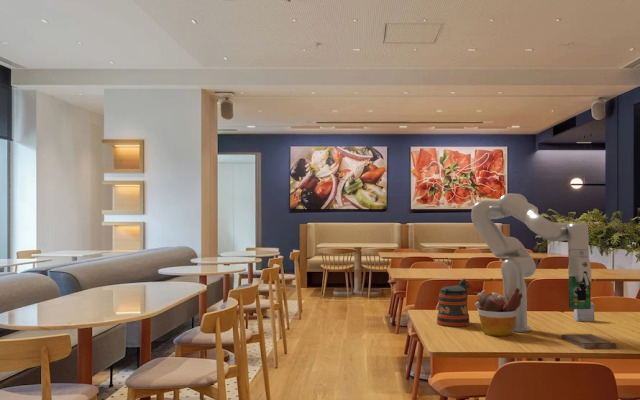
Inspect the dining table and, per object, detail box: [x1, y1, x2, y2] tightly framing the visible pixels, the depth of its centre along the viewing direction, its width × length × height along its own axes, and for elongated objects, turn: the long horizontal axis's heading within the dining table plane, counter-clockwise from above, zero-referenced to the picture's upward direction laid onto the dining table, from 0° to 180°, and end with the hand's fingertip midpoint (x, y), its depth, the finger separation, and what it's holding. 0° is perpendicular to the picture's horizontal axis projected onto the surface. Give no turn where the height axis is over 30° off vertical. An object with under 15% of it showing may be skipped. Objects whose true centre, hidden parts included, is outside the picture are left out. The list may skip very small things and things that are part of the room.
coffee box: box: [568, 275, 592, 310], centre depth 223 cm, size 8×3×13 cm, turn 93°
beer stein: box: [436, 278, 470, 328], centre depth 260 cm, size 19×15×20 cm
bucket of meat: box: [474, 288, 523, 337], centre depth 235 cm, size 20×16×20 cm
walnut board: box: [561, 333, 617, 350], centre depth 217 cm, size 12×18×2 cm, turn 2°
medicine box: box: [573, 302, 595, 322], centre depth 266 cm, size 8×4×9 cm, turn 84°
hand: (579, 299), depth 223 cm, fingers closed on coffee box, 3 cm apart
